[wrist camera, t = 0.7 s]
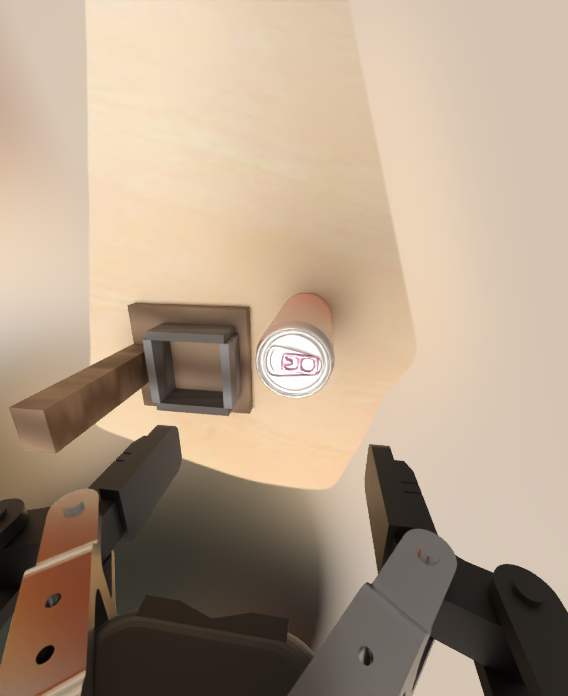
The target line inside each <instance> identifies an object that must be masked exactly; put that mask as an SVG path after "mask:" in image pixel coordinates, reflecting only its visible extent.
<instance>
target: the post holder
mask: <svg viewBox="0 0 568 696" xmlns="http://www.w3.org/2000/svg"><path fill="white" fill-rule="evenodd" d="M128 311H129V317H130V323H131V329H132V335H133V341H134V344H133V345H131V346H129V347H127V348H125V349H123V350H121V351H119V352H117V353H115V354H113V355H111V356H109V357H107V358H105V359H103V360H101V361H99V362H97V363H95V364H93V365H91V366H89V367H88V368H86V369H84V370H82V371H80V372H78V373H76V374H74V375H72V376H70V377H68V378H66V379H64V380H62V381H60V382H58V383H56V384H54V385H52V386H50V387H48V388H46V389H44V390H42V391H40V392H39V393H37V394H35V395H33V396H31V397H29V398H27V399H25V400H23V401H21V402H19V403H17V404H15V405H13V406H11V407H9V409H10V412H11V415H12V418H13V421H14V424H15V427H16V429H17V432H18V435H19V438H20V441H21V444H22V447H23V450H28V451H38V452H48V453H57V452H59V451H60V450H61V449H62V448H64V447H65V446H66V445H68V444H69V443H70V442H72V441H73V440H74V439H75V438H77V437H78V436H79V435H81V434H82V433H83V432H85V431H86V430H87V429H88V428H90V427H91V426H92V425H94V424H95V423H96V422H98V421H99V420H100V419H101V418H103V417H104V416H105V415H107V414H108V413H109V412H111V411H112V410H113V409H114V408H116V407H117V406H118V405H120V404H121V403H122V402H124V401H125V400H126V399H127V398H129V397H130V396H131V395H133V394H134V393H135V392H137V391H138V390H139V389H141V388H142V394H143V400H144V405H149V406H157V410H162V411H174V412H186V413H199V414H211V415H223V416H229V414H230V413H231V412H235V413H248V414H250V412H251V409H252V384H251V352H250V321H249V307H230V306H202V305H173V304H145V303H134V304H131V305H128Z"/></svg>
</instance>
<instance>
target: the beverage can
mask: <svg viewBox="0 0 568 696" xmlns="http://www.w3.org/2000/svg"><path fill="white" fill-rule="evenodd" d="M333 367H334V345H333V332H332V319H331V312H330V309H329V307H328V305H327V304H326V302H325V301H324V300H323V299H321V298H320V297H318V296H316V295H314V294H309V293H303V294H298V295H296V296H294V297H292V298H291V299H289V300H288V301H287V302H286V304H285V305H284V306H283V308H282V309H281V311H280V312H279V314H278V315H277V316H276V318H275V319H274V321H273V322H272V323H271V325H270V326H269V328H268V329H267V331H266V332H265V333H264V335H263V336H262V338H261V340H260V342H259V344H258V347H257V353H256V368H257V372H258V374H259V376H260V378H261V380H262V381H263V383H264V384H265V385H266V386H267V387H268V388H269V389H270V390H272V391H273V392H275V393H276V394H279V395H281V396H284V397H288V398H303V397H307V396H310V395H312V394H314V393H316V392H317V391H319V390H320V389H321V388H322V387H323V386H324V385H325V384H326V382H327V381H328V379H329V377H330V374H331V372H332V370H333Z"/></svg>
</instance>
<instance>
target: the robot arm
mask: <svg viewBox="0 0 568 696" xmlns="http://www.w3.org/2000/svg"><path fill="white" fill-rule="evenodd" d="M181 460H182V455H181V447H180V440H179V432H178V428H177V427H176V426H165V425H157V426H156V427H155V428H154V429H153V430H152V431H151V432H150V433H149V435H148V436H143V437H141V438H140V439H138V440H136V441H135V442H133V443H132V444H131V445H130V446H129V447H128V448H127V449H126V450H125V451H124V452H123V454H121V455H120V456H119V457H118V458H117V459H116V461H114V462H113V463H112V464H111V465H110V466H109V467H108V468H107V469H106V470H105V471H104V472H103V473H102V474H101V475H100V476H99V478H97V480H96V481H95V482H94V483H93V484H92V485H91V486H90V487H89V488H88V489H80V490H77V491H73V492H71V493H69V494H67V495H65V496H63V497H62V498H60V499H59V500H58V501H56V502H55V503H54V504H53V505H52V506H51V507H46V508H40V509H33V510H26V507H25V505H24V502H23V501H22V500H20V499H7V500H3V501H0V629H1V628H2V627H3V626H4V624H5V623H6V622H7V621H8V619H9V618H10V617H11V616H12V614H13V613H14V615H13V619H12V623H11V627H10V631H9V635H8V638H7V643H6V646H5V650H4V655H3V658H2V662H1V667H0V696H412V695H413V693H414V690H415V688H416V685H417V682H418V680H419V677H420V675H421V673H422V670H423V668H424V666H425V663H426V661H427V658H428V656H429V653H430V651H431V648H432V646H433V643H434V641H435V639H436V640H437V641H439V642H441V643H443V644H445V645H447V646H449V647H450V648H452V649H454V650H456V651H458V652H460V653H462V654H464V655H466V656H467V657H469V658H471V659H473V660H474V663H475V666H476V670H477V673H478V676H479V679H480V682H481V686H482V689H483V692H484V696H568V612H567V611H566V609H565V607H564V606H563V604H562V602H561V601H560V599H559V598H558V596H557V595H556V593H555V592H554V591H553V590H552V589H551V588H550V587H549V586H548V585H547V584H546V583H545V582H544V581H543V580H542V579H541V578H539V577H538V576H536V575H535V574H533V573H532V572H530V571H528V570H526V569H524V568H522V567H519V566H516V565H511V564H503V565H500V566H498V567H497V568H496V569H495V571H494V573H493V572H490V571H488V570H485V569H483V568H480V567H478V566H476V565H473V564H471V563H469V562H466V561H464V560H463V559H461V558H459V557H458V556H456V555H455V554H454V552H453V550H452V549H451V547H450V546H449V545H448V544H447V542H445V541H444V540H443V539H442V538H441V537H439V536H438V534H437V532H436V530H435V527H434V524H433V522H432V519H431V516H430V514H429V511H428V509H427V506H426V503H425V501H424V498H423V496H422V493H421V490H420V488H419V486H418V482H417V480H416V477H415V474H414V472H413V471H412V469H411V468H410V467H409V466H408V465H407V464H406V463H405V462H404V461H397V460H394V458H393V455H392V452H391V449H390V447H389V446H383V445H372V444H370V445H369V448H368V456H367V464H366V472H365V493H366V500H367V506H368V512H369V518H370V525H371V531H372V538H373V543H374V549H375V557H376V563H377V569H378V576H377V577H376V579H375V580H374V581H373V583H372V584H370V583H368V582H367V583H365V584H364V585H363V586H362V588H361V589H360V590H359V591H358V593H357V594H356V596H355V597H354V599H353V600H352V602H351V603H350V605H349V606H348V608H347V609H346V610H345V612H344V614H343V615H342V616H341V618H340V619H339V621H338V622H337V624H336V625H335V627H334V628H333V629H332V631H331V633H330V634H329V636H328V637H327V639H326V640H325V641H324V643H323V644H322V646H321V647H320V649H319V650H318V652H317V653H316V654H314V652H313V651H312V650H311V649H310V648H309V647H308V646H307V645H306V644H304V643H303V642H302V641H301V640H299V639H298V638H297V637H295V636H293V635H291V634H290V633H289V619H287V618H281V617H275V616H269V615H263V614H257V613H247V614H241V615H234V616H226V617H219V618H210V617H208V616H206V615H204V614H202V613H201V612H199V611H197V610H195V609H193V608H192V607H190V606H188V605H186V604H185V603H183V602H181V601H178V600H173V599H167V598H161V597H155V596H149V595H146V596H145V598H144V600H143V602H142V604H141V606H140V608H139V609H136V610H133V611H129V612H126V613H123V614H121V615H118V616H116V608H115V574H114V573H115V572H114V552H113V549H114V547H115V546H116V544H117V543H118V542H125V543H132V541H133V539H134V538H135V537H136V535H137V534H138V532H139V531H140V529H141V527H142V526H143V524H144V522H145V521H146V519H147V518H148V517H149V515H150V514H151V512H152V510H153V509H154V507H155V506H156V504H157V503H158V501H159V500H160V498H161V497H162V495H163V494H164V492H165V491H166V489H167V487H168V486H169V484H170V483H171V481H172V480H173V478H174V476H175V475H176V474H177V472H178V470H179V468H180V465H181Z"/></svg>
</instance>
